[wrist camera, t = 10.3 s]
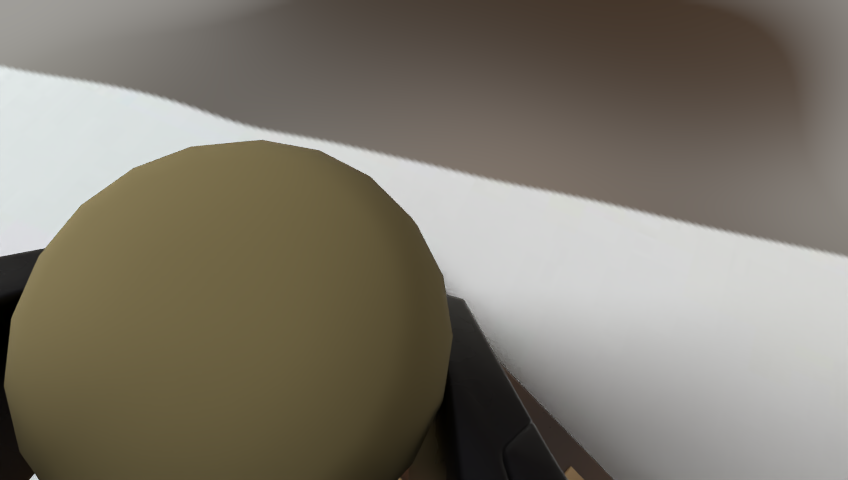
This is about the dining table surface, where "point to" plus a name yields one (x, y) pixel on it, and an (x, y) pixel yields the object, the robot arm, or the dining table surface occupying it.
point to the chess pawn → (231, 326)
